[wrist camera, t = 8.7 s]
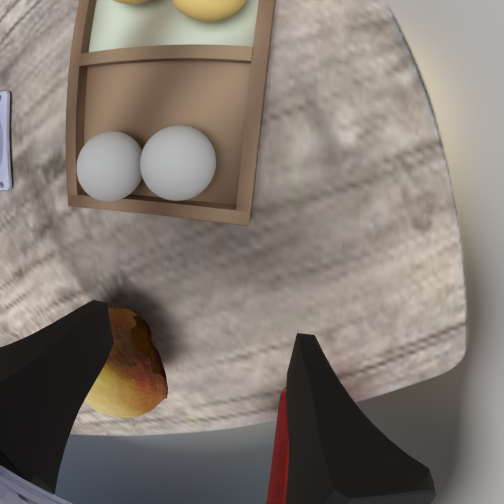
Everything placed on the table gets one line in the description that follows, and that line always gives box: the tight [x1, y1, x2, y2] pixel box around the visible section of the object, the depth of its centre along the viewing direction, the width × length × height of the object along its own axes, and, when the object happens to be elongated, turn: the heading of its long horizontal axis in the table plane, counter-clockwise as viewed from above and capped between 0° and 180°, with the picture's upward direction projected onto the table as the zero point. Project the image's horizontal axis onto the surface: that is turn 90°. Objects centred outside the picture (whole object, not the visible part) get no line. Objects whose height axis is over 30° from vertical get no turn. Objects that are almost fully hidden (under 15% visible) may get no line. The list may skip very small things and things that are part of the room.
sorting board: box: [66, 0, 276, 226], centre depth 16 cm, size 12×17×2 cm
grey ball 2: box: [140, 125, 216, 201], centre depth 16 cm, size 4×4×4 cm
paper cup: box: [266, 388, 289, 504], centre depth 20 cm, size 8×8×14 cm
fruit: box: [84, 308, 168, 418], centre depth 21 cm, size 8×8×8 cm
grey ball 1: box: [76, 131, 142, 202], centre depth 16 cm, size 4×4×4 cm
